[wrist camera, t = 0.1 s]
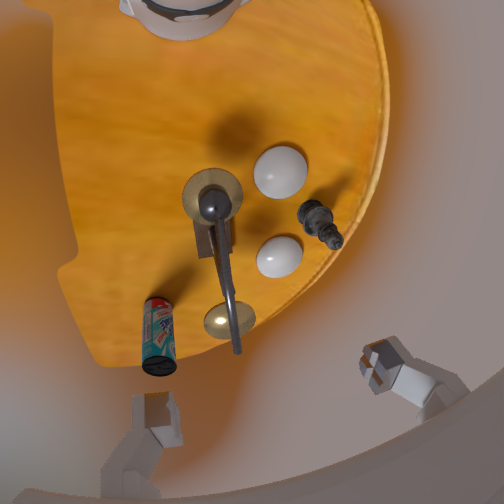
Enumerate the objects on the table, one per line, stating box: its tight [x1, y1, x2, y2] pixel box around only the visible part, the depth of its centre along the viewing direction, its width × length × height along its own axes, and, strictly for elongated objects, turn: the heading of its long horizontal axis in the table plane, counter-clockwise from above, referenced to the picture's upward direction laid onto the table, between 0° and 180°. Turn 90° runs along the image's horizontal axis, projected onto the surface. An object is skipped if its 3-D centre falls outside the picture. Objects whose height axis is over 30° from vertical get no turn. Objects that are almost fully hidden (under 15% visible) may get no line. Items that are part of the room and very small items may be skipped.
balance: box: [182, 168, 256, 355], centre depth 43 cm, size 26×8×20 cm, turn 2°
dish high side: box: [256, 236, 302, 278], centre depth 57 cm, size 9×9×1 cm
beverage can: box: [142, 297, 177, 377], centre depth 52 cm, size 6×6×15 cm
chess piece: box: [297, 200, 344, 250], centre depth 49 cm, size 6×6×12 cm
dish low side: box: [253, 146, 307, 199], centre depth 48 cm, size 9×9×1 cm
